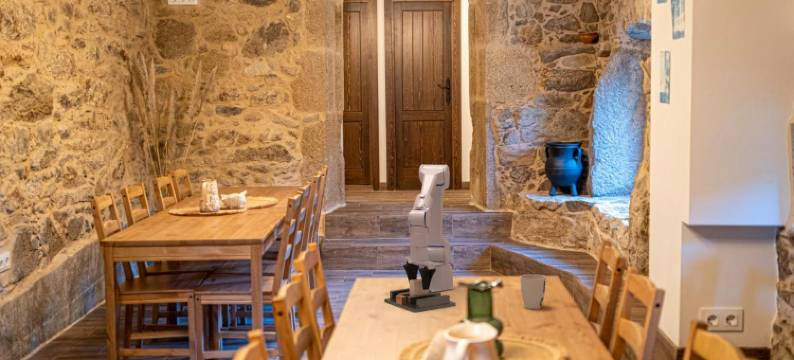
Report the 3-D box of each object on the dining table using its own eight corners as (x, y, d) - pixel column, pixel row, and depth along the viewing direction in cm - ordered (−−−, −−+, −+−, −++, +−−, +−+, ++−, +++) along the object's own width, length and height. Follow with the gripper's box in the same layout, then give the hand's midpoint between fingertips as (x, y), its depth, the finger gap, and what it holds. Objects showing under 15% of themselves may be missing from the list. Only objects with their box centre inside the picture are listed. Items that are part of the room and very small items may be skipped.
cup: (547, 310, 286) (547, 279, 285) (521, 310, 286) (521, 279, 285) (543, 304, 294) (544, 274, 293) (518, 304, 294) (518, 274, 293)
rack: (424, 295, 308) (424, 285, 308) (455, 305, 293) (455, 295, 293) (384, 301, 299) (384, 291, 299) (414, 312, 284) (414, 301, 284)
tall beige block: (424, 298, 299) (424, 278, 298) (429, 300, 297) (428, 279, 296) (409, 301, 295) (409, 280, 295) (413, 302, 293) (413, 281, 293)
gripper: (396, 244, 298) (397, 285, 299) (421, 250, 286) (421, 292, 287) (414, 242, 302) (414, 282, 303) (439, 248, 290) (439, 290, 291)
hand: (419, 287), depth 296 cm, fingers open, 7 cm apart
